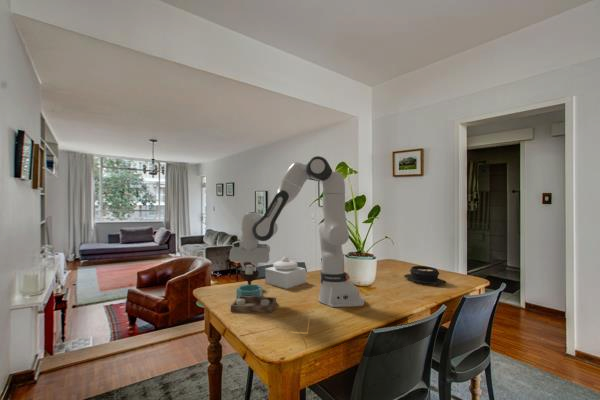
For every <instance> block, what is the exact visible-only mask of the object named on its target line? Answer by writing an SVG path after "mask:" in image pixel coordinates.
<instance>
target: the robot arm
mask: <svg viewBox="0 0 600 400" xmlns="http://www.w3.org/2000/svg"><path fill="white" fill-rule="evenodd" d="M307 180H310V181H314V182H315V181H316V182H321V183H322V184H321V185H322V212H323V223H322V224H321V225H320V227H319V230H318V232H319V233H318V234H319V244H320V252H321V271H320V289H319V294H318V295H319V296H318V299H317V300H318V303H321V304H324V305H328V307H331V308H345V307H349V308H350V307H363V306H364V305H365V300H364V298H363V296H361V295H360V291H359V288H358V287H357V286H356V285H355V284H354V283H352V282H351V281H350V279H351V277H350V275H349V273H348V272H346V271H345V255H344V252H343V245H346V243H347V242H348V240H349V239H350V238H349V237H350V232H349V230H348V222H347V217H346V184H345V177H344V175H343V174H342V173H341V172H337V171H333V169H332V167H331V165H330V163H329V161H328V160H327V159H326V158H325V157H323V156H319V155H317V156H312V157H311V158H310V159H308V162H307V164H303V163H302V162H293V163H292V164H291V165H290V166H289V167H288V169H287V170H286V171H285V173H284V175H283V176H282V178H281V180H280V182H279V184H278V186H277V189H276V192H275V194H274V196H273V199H272V201H271V202H270V204H269V206H268V207H267V210H266V211H265V213H264V214H263V215H262V214H260V213H259V212H258V211H252V212H251V211H249V212H246V213H244V214H243V216H242V218H241V219H242V220H241V237H240V240H237V241H234V242H232V243H231V249H230V250H229V257H228V260H229V261H230V262H237V263H240V266H241V269H242V270H243V271H245V268H246V267H245V266H244V263H245V262H251V263H254V265H255V267H253V268H252V269H253V270H252V271H256V267H257V268H258V265H259V263H260V264H261V263H263V264H266V263H267V264H268V263H269V262H270V252H271V251H270V250H271V246H269V245H268V244H266V243H259V242H266V241H268V240H270V239H271V238H273V236H275V234H277V232H278V224H277V222H276V221H277V220H278V218H279V217H280V214H281V213H282V211H283V210H284V208H285V207H286V206H288V204H289V203H291V202H293V200H295V199H296V197H297V196H298V195H299V193H300V192H301V190H302V189H303V187H304V185H305V183H306V181H307ZM242 270H241V271H242Z"/></svg>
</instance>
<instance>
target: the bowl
mask: <svg viewBox="0 0 600 400" xmlns="http://www.w3.org/2000/svg"><path fill="white" fill-rule="evenodd" d="M239 296H252V297H263V286H261V285H259V284H251V285H250V284H248V283H247V284H244V285H239V286H238V287H237V288H236V299H237V298H238V297H239Z"/></svg>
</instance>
